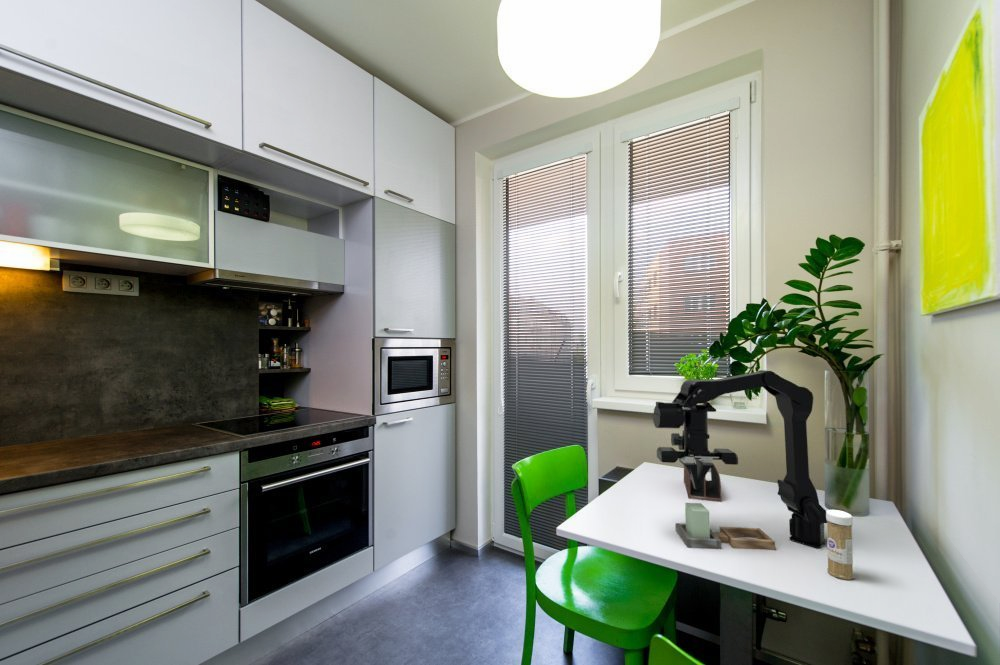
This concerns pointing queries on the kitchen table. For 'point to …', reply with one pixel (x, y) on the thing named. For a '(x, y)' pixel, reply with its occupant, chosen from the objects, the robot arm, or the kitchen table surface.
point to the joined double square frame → (728, 538)
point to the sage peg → (697, 521)
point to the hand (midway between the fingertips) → (696, 488)
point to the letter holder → (704, 487)
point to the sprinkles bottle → (839, 544)
